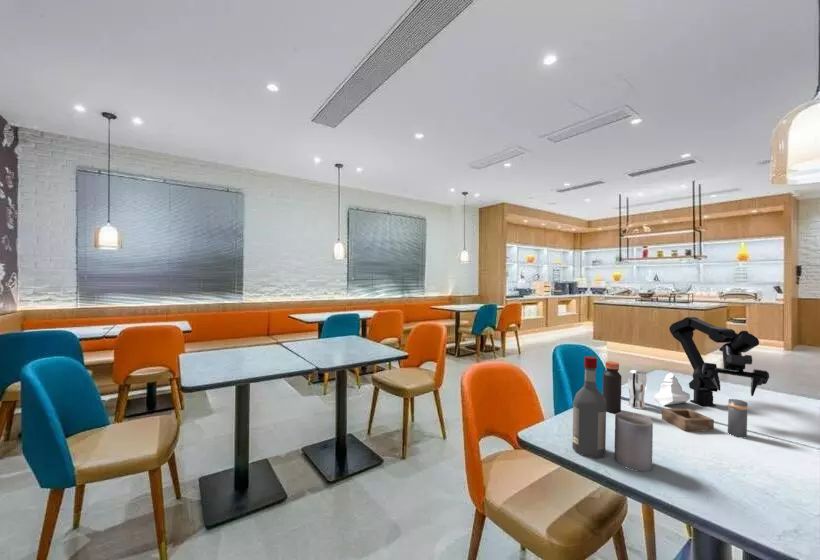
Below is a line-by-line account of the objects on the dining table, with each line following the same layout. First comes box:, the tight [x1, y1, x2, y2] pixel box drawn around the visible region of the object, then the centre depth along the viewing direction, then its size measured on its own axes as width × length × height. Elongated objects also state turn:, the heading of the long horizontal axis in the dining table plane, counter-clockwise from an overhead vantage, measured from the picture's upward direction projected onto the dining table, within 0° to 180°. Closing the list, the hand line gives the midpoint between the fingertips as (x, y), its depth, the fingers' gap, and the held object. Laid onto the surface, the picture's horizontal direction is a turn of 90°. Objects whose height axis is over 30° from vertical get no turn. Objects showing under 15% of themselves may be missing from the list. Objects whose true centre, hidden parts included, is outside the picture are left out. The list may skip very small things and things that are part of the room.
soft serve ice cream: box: [654, 372, 691, 407], centre depth 159 cm, size 12×15×14 cm
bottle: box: [602, 361, 622, 414], centre depth 149 cm, size 7×7×20 cm
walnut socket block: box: [661, 408, 715, 432], centre depth 136 cm, size 11×11×4 cm
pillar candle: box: [613, 411, 654, 472], centre depth 107 cm, size 10×10×15 cm
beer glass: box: [627, 369, 648, 410], centre depth 154 cm, size 7×7×15 cm
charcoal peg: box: [727, 398, 749, 438], centre depth 127 cm, size 5×5×12 cm
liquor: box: [571, 355, 607, 459], centre depth 114 cm, size 9×9×30 cm
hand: (735, 392), depth 134 cm, fingers open, 9 cm apart
